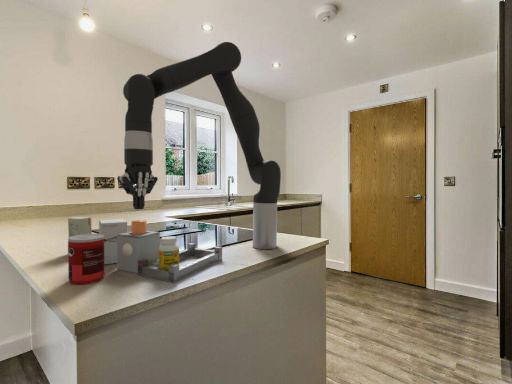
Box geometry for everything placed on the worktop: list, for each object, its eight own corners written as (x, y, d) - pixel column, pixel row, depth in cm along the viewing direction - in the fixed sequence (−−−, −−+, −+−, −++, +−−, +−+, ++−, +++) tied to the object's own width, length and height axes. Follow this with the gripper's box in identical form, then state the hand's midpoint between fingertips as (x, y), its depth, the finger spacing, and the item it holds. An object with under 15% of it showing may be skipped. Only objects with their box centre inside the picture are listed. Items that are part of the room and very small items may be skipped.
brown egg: (139, 241, 84) (139, 219, 83) (149, 242, 82) (149, 220, 82) (128, 244, 80) (128, 221, 80) (138, 245, 78) (138, 222, 78)
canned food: (78, 274, 75) (78, 233, 74) (110, 274, 75) (109, 233, 75) (61, 285, 67) (60, 239, 66) (96, 284, 68) (95, 239, 67)
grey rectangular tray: (191, 254, 96) (191, 242, 96) (222, 259, 91) (222, 247, 91) (137, 275, 75) (137, 260, 75) (174, 282, 70) (174, 266, 70)
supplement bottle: (175, 267, 81) (175, 234, 80) (181, 273, 76) (181, 238, 76) (156, 271, 78) (156, 236, 77) (161, 276, 73) (161, 240, 73)
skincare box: (92, 252, 96) (92, 217, 95) (80, 256, 92) (79, 219, 91) (80, 250, 98) (80, 216, 98) (68, 253, 94) (67, 217, 94)
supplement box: (100, 265, 82) (99, 223, 81) (98, 259, 88) (98, 219, 88) (127, 262, 86) (127, 221, 85) (124, 256, 92) (124, 218, 92)
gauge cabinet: (139, 261, 87) (139, 229, 86) (159, 265, 83) (159, 232, 83) (116, 269, 79) (116, 234, 79) (137, 273, 76) (137, 237, 75)
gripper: (129, 145, 72) (129, 212, 73) (165, 150, 84) (165, 207, 85) (108, 146, 75) (109, 210, 76) (146, 151, 87) (146, 206, 88)
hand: (138, 209), depth 81 cm, fingers closed
